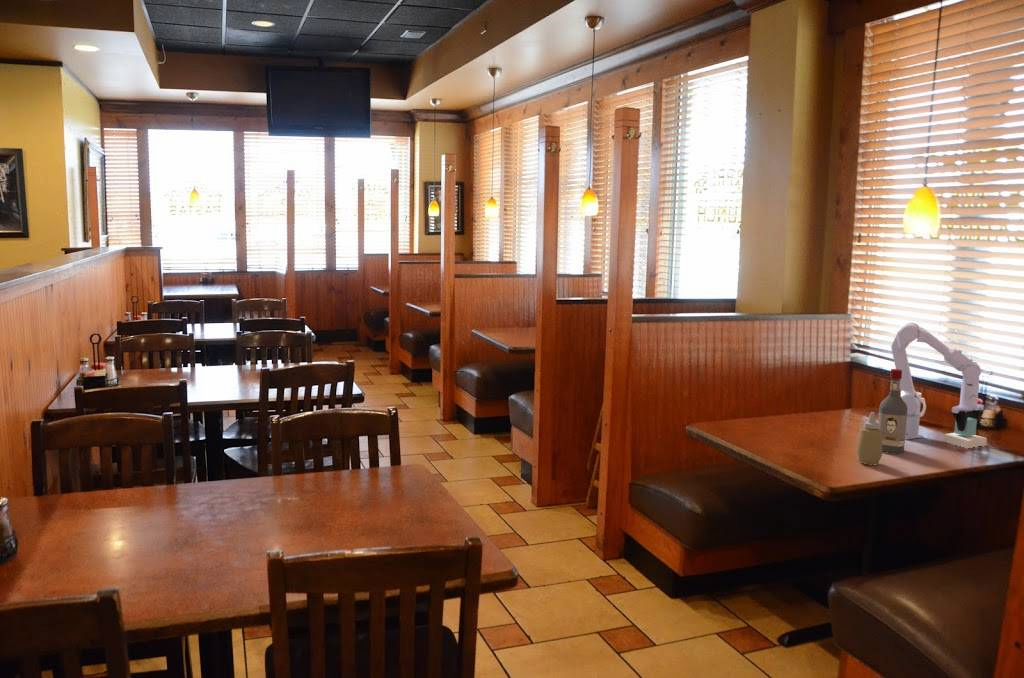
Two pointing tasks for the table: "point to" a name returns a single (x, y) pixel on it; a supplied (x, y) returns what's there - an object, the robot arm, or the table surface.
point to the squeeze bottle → (870, 442)
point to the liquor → (893, 417)
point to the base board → (965, 440)
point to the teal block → (967, 427)
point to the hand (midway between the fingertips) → (965, 429)
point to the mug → (922, 402)
